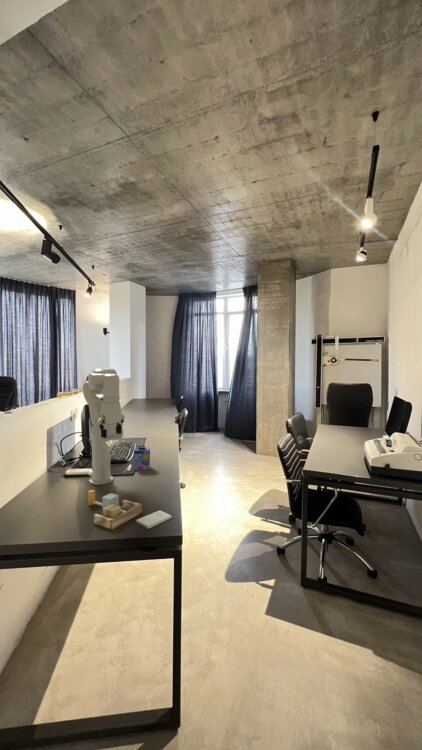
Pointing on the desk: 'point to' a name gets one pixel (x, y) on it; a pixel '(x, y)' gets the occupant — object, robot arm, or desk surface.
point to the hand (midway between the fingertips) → (111, 435)
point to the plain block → (112, 511)
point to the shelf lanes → (111, 523)
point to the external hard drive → (153, 519)
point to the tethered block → (103, 499)
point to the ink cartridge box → (141, 458)
